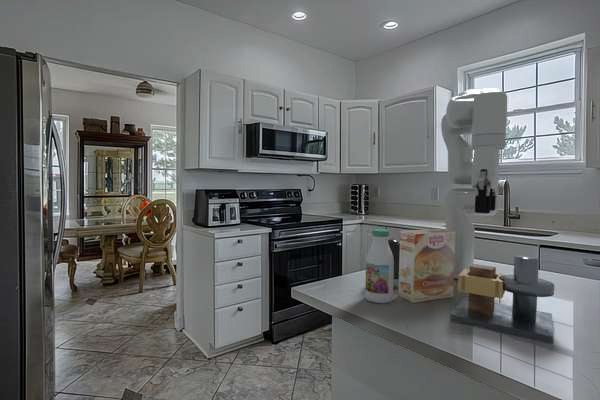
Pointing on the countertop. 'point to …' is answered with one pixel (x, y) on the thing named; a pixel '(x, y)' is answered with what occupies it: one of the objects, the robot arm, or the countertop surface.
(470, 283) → the ochre bracket
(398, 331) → the countertop surface
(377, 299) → the milk bottle
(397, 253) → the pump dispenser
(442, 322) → the countertop surface
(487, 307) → the walnut wedge
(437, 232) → the coffeecake box
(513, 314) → the ringlock post
